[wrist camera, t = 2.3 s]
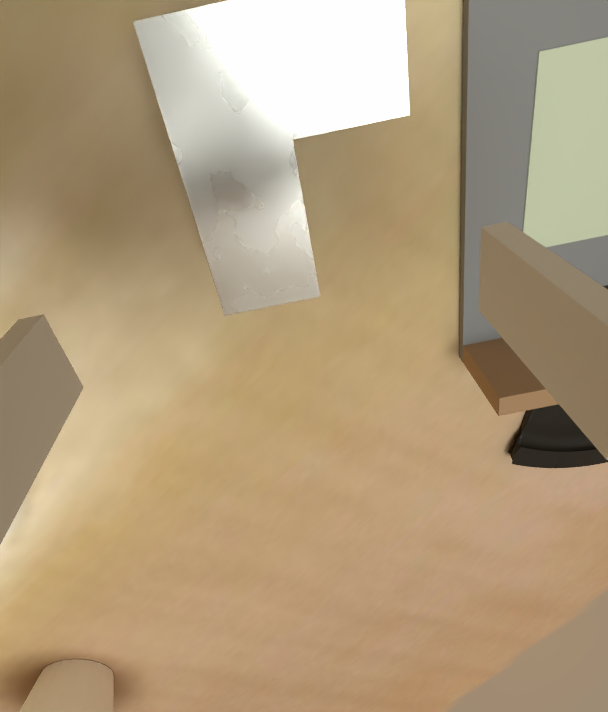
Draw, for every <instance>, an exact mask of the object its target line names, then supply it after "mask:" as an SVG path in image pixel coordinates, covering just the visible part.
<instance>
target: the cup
mask: <svg viewBox="0 0 608 712" xmlns="http://www.w3.org/2000/svg"><path fill="white" fill-rule="evenodd" d="M113 707H114V674H113V672H112V670H111V669H110V668H108V667H107V666H105V665H103V664H101V663H98V662H94V661H90V660H83V659H71V660H62V661H58V662H54V663H52V664H50V665H48V666H47V667H45V668H44V669H43V671H42V672H41V674H40V676H39V678H38V679H37V681H36V683H35V685H34V686H33V688H32V690H31V692H30V693H29V695H28V697H27V699H26V700H25V702H24V704H23V706H22V707H21V709H20V711H19V712H113Z"/></svg>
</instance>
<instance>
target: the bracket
mask: <svg viewBox="0 0 608 712" xmlns="http://www.w3.org/2000/svg"><path fill="white" fill-rule="evenodd" d="M133 24H134V27H135V30H136V34H137V37H138V40H139V43H140V46H141V49H142V53H143V56H144V59H145V62H146V65H147V69H148V72H149V75H150V78H151V81H152V85H153V88H154V91H155V94H156V97H157V101H158V104H159V107H160V110H161V113H162V117H163V120H164V123H165V126H166V129H167V133H168V136H169V139H170V142H171V145H172V149H173V152H174V155H175V158H176V161H177V165H178V168H179V171H180V174H181V177H182V181H183V184H184V187H185V190H186V193H187V197H188V200H189V203H190V206H191V209H192V213H193V216H194V219H195V222H196V225H197V228H198V232H199V235H200V238H201V241H202V244H203V248H204V251H205V254H206V257H207V260H208V264H209V267H210V270H211V273H212V276H213V280H214V283H215V286H216V289H217V292H218V296H219V299H220V302H221V305H222V308H223V312H224V315H230V314H236V313H241V312H246V311H251V310H256V309H261V308H266V307H271V306H276V305H281V304H286V303H291V302H296V301H301V300H306V299H311V298H316V297H320V292H319V286H318V280H317V275H316V269H315V263H314V258H313V252H312V246H311V241H310V235H309V229H308V224H307V218H306V212H305V207H304V201H303V195H302V190H301V184H300V178H299V173H298V167H297V161H296V156H295V150H294V144H293V139H298V138H303V137H308V136H312V135H317V134H322V133H327V132H332V131H336V130H341V129H346V128H351V127H355V126H360V125H365V124H370V123H375V122H379V121H384V120H389V119H394V118H398V117H403V116H408V115H410V110H409V87H408V65H407V43H406V20H405V0H228V1H224V2H219V3H214V4H210V5H205V6H201V7H196V8H191V9H187V10H182V11H178V12H173V13H169V14H164V15H159V16H155V17H150V18H146V19H141V20H136V21H133Z"/></svg>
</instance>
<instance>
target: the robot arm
mask: <svg viewBox="0 0 608 712" xmlns="http://www.w3.org/2000/svg"><path fill="white" fill-rule="evenodd" d="M479 311H480V312H481V314H482V315H483V316H484V317H485V318H486V319H487V321H488V322H489V323H490V324H491V325H492V326H493V328H494V329H495V330H496V331H497V332H498V333H499V335H500V336H501V337H502V338H503V339H504V340H505V342H506V343H507V344H508V345H509V346H510V348H511V349H512V350H513V351H514V352H515V353H516V355H517V356H518V357H519V358H520V359H521V360H522V362H523V363H524V364H525V365H526V366H527V367H528V369H529V370H530V371H531V372H532V373H533V374H534V376H535V377H536V378H537V379H538V380H539V381H540V383H541V384H542V385H543V386H544V387H545V388H546V390H547V391H548V392H549V393H550V394H551V396H552V397H553V398H554V399H555V400H556V401H557V403H558V404H559V405H560V406H561V407H562V408H563V410H564V411H565V412H566V413H567V414H568V415H569V417H570V418H571V419H572V420H573V421H574V422H575V424H576V425H577V426H578V427H579V428H580V429H581V431H582V432H583V433H584V434H585V435H586V437H587V438H588V439H589V440H590V441H591V442H592V444H593V445H594V446H595V447H596V448H597V449H598V451H599V452H600V453H601V454H602V455H603V456H604V458H605V459H606V460H608V285H606V286H602V285H600V284H599V283H597V282H596V281H594V280H593V279H591V278H590V277H589V276H587V275H586V274H584V273H583V272H581V271H580V270H578V269H577V268H575V267H574V266H572V265H571V264H569V263H568V262H566V261H565V260H563V259H562V258H560V257H559V256H558V255H556V254H555V253H553V252H552V251H550V250H549V249H547V248H546V247H544V246H543V245H541V244H540V243H538V242H537V241H535V240H534V239H532V238H531V237H529V236H528V235H527V234H525V233H524V232H522V231H521V230H519V229H518V228H516V227H515V226H513V225H512V224H510V223H509V222H503V223H498V224H493V225H488V226H483V227H481V247H480V279H479ZM82 389H83V385H82V383H81V382H80V380H79V378H78V376H77V374H76V373H75V371H74V369H73V367H72V365H71V364H70V362H69V360H68V358H67V356H66V354H65V353H64V351H63V349H62V347H61V345H60V344H59V342H58V340H57V338H56V336H55V335H54V333H53V331H52V329H51V327H50V325H49V324H48V322H47V320H46V318H45V316H44V315H39V316H34V317H29V318H24V319H19V320H18V321H17V322H16V323H15V324H14V325H13V326H12V327H11V329H10V330H9V331H8V332H7V333H6V334H5V335H4V336H3V337H2V338H1V340H0V544H1V542H2V540H3V538H4V536H5V535H6V533H7V531H8V529H9V527H10V525H11V523H12V521H13V519H14V518H15V516H16V514H17V512H18V510H19V508H20V506H21V504H22V502H23V501H24V499H25V497H26V495H27V493H28V491H29V489H30V487H31V485H32V484H33V482H34V480H35V478H36V476H37V474H38V472H39V470H40V468H41V467H42V465H43V463H44V461H45V459H46V457H47V455H48V453H49V451H50V450H51V448H52V446H53V444H54V442H55V440H56V438H57V436H58V434H59V433H60V431H61V429H62V427H63V425H64V423H65V421H66V419H67V417H68V416H69V414H70V412H71V410H72V408H73V406H74V404H75V402H76V400H77V398H78V397H79V395H80V393H81V391H82Z"/></svg>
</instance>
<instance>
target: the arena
mask: <svg viewBox="0 0 608 712" xmlns="http://www.w3.org/2000/svg"><path fill="white" fill-rule="evenodd" d="M503 222H509V223H510V224H512V225H513V226H515V227H516V228H518V229H519V230H521V231H522V232H524V233H525V234H527V235H528V236H529V237H531V238H532V239H534V240H535V241H537V242H538V243H540V244H541V245H543V246H544V247H546V248H547V249H549V250H550V251H552V252H553V253H555V254H556V255H558V256H559V257H560V258H562V259H563V260H565V261H566V262H568V263H569V264H571V265H572V266H574V267H575V268H577V269H578V270H580V271H581V272H583V273H584V274H586V275H587V276H589V277H590V278H591V279H593V280H594V281H596V282H597V283H599V284H600V285H602V286H606V285H608V0H463V67H462V152H461V236H460V321H459V357H460V358H461V360H462V362H463V363H464V365H465V366H466V368H467V369H468V371H469V372H470V374H471V375H472V377H473V378H474V380H475V381H476V383H477V384H478V386H479V387H480V389H481V390H482V392H483V393H484V395H485V396H486V398H487V399H488V401H489V402H490V404H491V405H492V407H493V408H494V410H495V411H496V413H497V414H498V416H500V415H506V414H511V413H516V412H521V411H526V410H531V409H537V408H542V407H547V406H552V405H557V404H558V403H557V401H556V400H555V399H554V398H553V397H552V396H551V394H550V393H549V392H548V391H547V390H546V388H545V387H544V386H543V385H542V384H541V383H540V381H539V380H538V379H537V378H536V377H535V376H534V374H533V373H532V372H531V371H530V370H529V369H528V367H527V366H526V365H525V364H524V363H523V362H522V360H521V359H520V358H519V357H518V356H517V355H516V353H515V352H514V351H513V350H512V349H511V348H510V346H509V345H508V344H507V343H506V342H505V340H504V339H503V338H502V337H501V336H500V335H499V333H498V332H497V331H496V330H495V329H494V328H493V326H492V325H491V324H490V323H489V322H488V321H487V319H486V318H485V317H484V316H483V315H482V314H481V312H480V311H479V279H480V247H481V227H483V226H488V225H493V224H498V223H503Z"/></svg>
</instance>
